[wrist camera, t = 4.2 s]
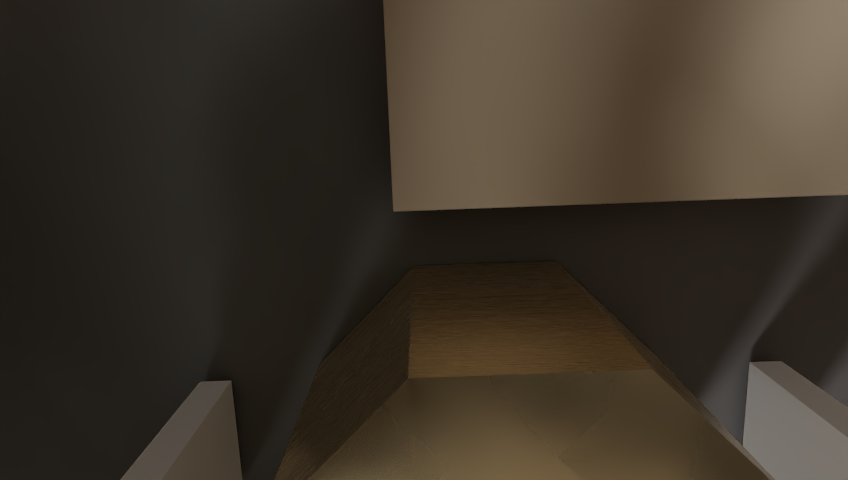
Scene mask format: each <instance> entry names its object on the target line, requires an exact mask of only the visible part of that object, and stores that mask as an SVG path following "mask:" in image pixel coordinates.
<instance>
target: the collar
mask: <svg viewBox="0 0 848 480" xmlns="http://www.w3.org/2000/svg"><path fill="white" fill-rule="evenodd" d="M274 480H775V479H774V478H773V477H772V476H771V475H770V474H769V473H768V472H767V471H766V470H765V469H764V468H763V467H762V466H761V465H760V464H759V463H758V462H757V460H756V459H755V458H754V457H753V456H752V455H751V454H750V453H749V452H748V451H747V450H746V449H745V448H744V447H743V446H742V445H741V444H740V443H739V442H738V441H737V440H736V439H735V438H734V436H733V435H732V434H731V433H730V432H729V431H728V430H727V429H726V428H725V427H724V426H723V425H722V424H721V423H720V422H719V421H718V420H717V419H716V418H715V417H714V416H713V415H712V414H711V413H710V411H709V410H708V409H707V408H706V407H705V406H704V405H703V404H702V403H701V402H700V401H699V400H698V399H697V398H696V397H695V396H694V395H693V394H692V393H691V392H690V391H689V390H688V389H687V387H686V386H685V385H684V384H683V383H682V382H681V381H680V380H679V379H678V378H677V377H676V376H675V375H674V374H673V373H672V372H671V371H670V370H669V369H668V368H667V367H666V366H665V365H664V363H663V362H662V361H661V360H660V359H659V358H658V357H657V356H656V355H655V354H654V353H653V352H652V351H651V350H650V349H649V348H647V347H646V346H645V345H644V344H643V343H642V342H641V341H640V340H639V339H638V338H637V337H636V336H635V335H634V334H633V333H632V332H630V331H629V330H628V329H627V328H626V327H625V326H624V325H623V324H622V323H621V322H620V321H619V320H618V319H617V318H616V317H615V316H613V315H612V314H611V313H610V312H609V311H608V310H607V309H606V308H605V307H604V306H603V305H602V304H601V303H600V302H599V301H598V300H597V299H595V298H594V297H593V296H592V295H591V294H590V293H589V292H588V291H587V290H586V289H585V288H584V287H583V286H582V285H581V284H580V283H578V282H577V281H576V280H575V279H574V278H573V277H572V276H571V275H570V274H569V273H568V272H567V271H566V270H565V269H564V268H563V267H561V266H560V265H559V264H558V263H557V262H556V261H537V262H510V263H483V264H456V265H428V266H413V267H412V268H411V269H410V270H409V271H408V272H407V273H406V274H405V276H404V277H403V278H402V279H401V280H400V281H399V282H398V283H397V284H396V285H395V286H394V287H393V288H392V289H391V290H390V291H389V292H388V293H387V294H386V295H385V296H384V298H383V299H382V300H381V301H380V302H379V303H378V304H377V305H376V306H375V307H374V308H373V309H372V310H371V311H370V312H369V313H368V314H367V315H366V316H365V317H364V318H363V319H362V321H361V322H360V323H359V324H358V325H357V326H356V327H355V328H354V329H353V330H352V331H351V332H350V333H349V334H348V335H347V336H346V337H345V338H344V339H343V340H342V341H341V343H340V344H339V345H338V346H337V347H336V348H335V349H334V350H333V351H332V352H331V353H330V354H329V355H328V356H327V357H326V358H325V359H324V360H323V361H322V362H321V363H320V365H319V368H318V370H317V373H316V375H315V378H314V380H313V383H312V385H311V388H310V390H309V393H308V396H307V398H306V401H305V403H304V406H303V408H302V411H301V413H300V416H299V418H298V421H297V423H296V426H295V428H294V431H293V433H292V436H291V438H290V441H289V443H288V446H287V449H286V451H285V454H284V456H283V459H282V461H281V464H280V466H279V469H278V471H277V474H276V476H275V479H274Z"/></svg>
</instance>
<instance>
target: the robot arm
mask: <svg viewBox="0 0 848 480" xmlns="http://www.w3.org/2000/svg"><path fill="white" fill-rule="evenodd" d="M743 447H744V448H745V449H746V450H747V451H748V452H749V453H750V454H751V455H752V456H753V457H754V458H755V459H756V460H757V462H758V463H759V464H760V465H761V466H762V467H763V468H764V469H765V470H766V471H767V472H768V473H769V474H770V475H771V476H772V477H773V478H774V479H775V480H848V407H846V406H845V405H843V404H842V403H840V402H839V401H838V400H836V399H835V398H833V397H832V396H830V395H829V394H828V393H826V392H825V391H823V390H822V389H820V388H819V387H818V386H816V385H815V384H813V383H812V382H810V381H809V380H808V379H806V378H805V377H803V376H802V375H800V374H799V373H798V372H796V371H795V370H793V369H792V368H790V367H789V366H788V365H786V364H785V363H783V362H782V361H766V362H750V364H749V375H748V387H747V399H746V411H745V423H744V435H743ZM120 480H242V471H241V462H240V453H239V445H238V436H237V427H236V418H235V409H234V400H233V391H232V382H231V381H204V382H199V383H198V385H197V386H196V387H195V388H194V390H193V391H192V392H191V393H190V395H189V396H188V397H187V398H186V399H185V401H184V402H183V403H182V404H181V406H180V407H179V408H178V409H177V411H176V412H175V413H174V414H173V415H172V417H171V418H170V419H169V420H168V422H167V423H166V424H165V425H164V426H163V428H162V429H161V430H160V431H159V433H158V434H157V435H156V436H155V438H154V439H153V440H152V441H151V442H150V444H149V445H148V446H147V447H146V449H145V450H144V451H143V452H142V454H141V455H140V456H139V457H138V458H137V460H136V461H135V462H134V463H133V465H132V466H131V467H130V468H129V469H128V471H127V472H126V473H125V474H124V476H123V477H122V478H121V479H120Z"/></svg>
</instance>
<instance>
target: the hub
mask: <svg viewBox="0 0 848 480" xmlns="http://www.w3.org/2000/svg"><path fill="white" fill-rule="evenodd" d="M383 7H384V28H385V49H386V70H387V90H388V111H389V132H390V153H391V174H392V195H393V212H395V211H422V210H449V209H476V208H503V207H530V206H557V205H584V204H611V203H638V202H665V201H692V200H719V199H746V198H773V197H800V196H827V195H848V0H383Z"/></svg>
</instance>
